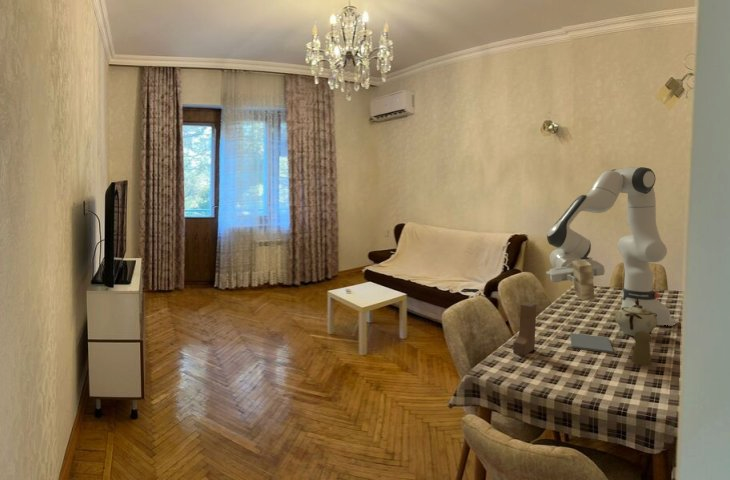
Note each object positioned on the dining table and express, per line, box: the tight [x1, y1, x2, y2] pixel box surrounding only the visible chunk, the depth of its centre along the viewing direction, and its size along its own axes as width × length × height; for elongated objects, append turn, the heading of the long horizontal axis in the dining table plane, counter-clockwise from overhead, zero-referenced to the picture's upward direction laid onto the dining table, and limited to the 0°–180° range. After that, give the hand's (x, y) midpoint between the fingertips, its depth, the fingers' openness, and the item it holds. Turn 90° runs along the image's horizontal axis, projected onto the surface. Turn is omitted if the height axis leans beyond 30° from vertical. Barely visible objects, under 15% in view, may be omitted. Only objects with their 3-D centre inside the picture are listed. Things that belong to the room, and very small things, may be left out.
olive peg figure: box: [630, 332, 653, 367], centre depth 151 cm, size 6×6×11 cm
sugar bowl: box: [614, 299, 658, 337], centre depth 180 cm, size 20×15×15 cm
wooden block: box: [512, 302, 537, 357], centre depth 162 cm, size 9×4×18 cm, turn 134°
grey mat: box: [569, 332, 614, 354], centre depth 170 cm, size 14×16×1 cm
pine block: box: [572, 259, 595, 302], centre depth 166 cm, size 4×7×14 cm, turn 173°
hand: (583, 278), depth 165 cm, fingers closed on pine block, 4 cm apart
